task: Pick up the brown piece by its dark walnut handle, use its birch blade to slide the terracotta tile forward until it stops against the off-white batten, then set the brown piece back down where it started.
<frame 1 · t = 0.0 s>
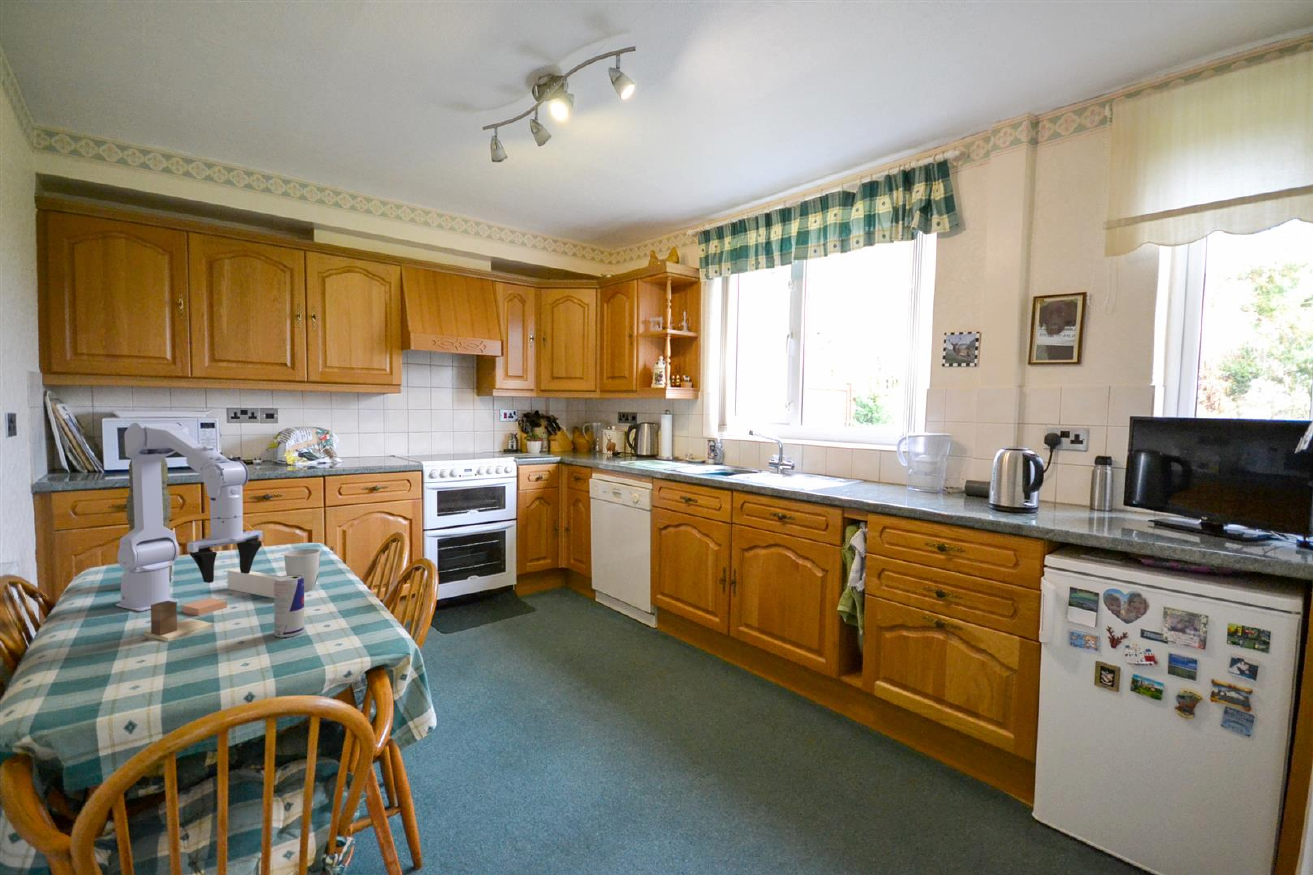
hand: (227, 577, 124), 10 cm above the table, tool pointing down, fingers open, 7 cm apart
energy drink: (289, 634, 120), on the table
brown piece: (164, 636, 117), on the table
batten: (260, 593, 144), on the table
cup: (302, 590, 148), on the table
tile: (204, 611, 132), on the table
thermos: (150, 584, 151), on the table
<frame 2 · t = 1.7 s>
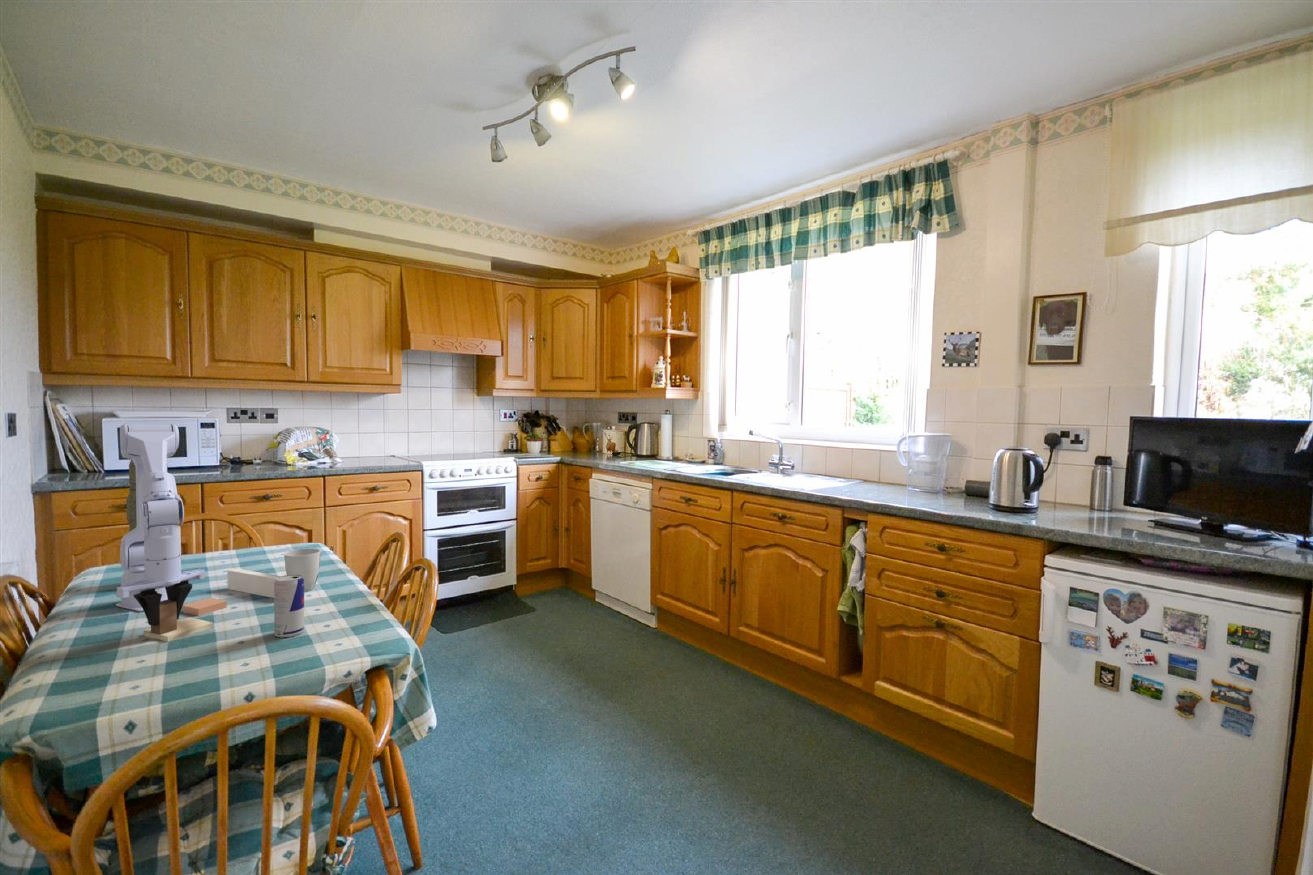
hand: (163, 621, 117), 3 cm above the table, tool pointing down, fingers closed on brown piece, 3 cm apart
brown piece: (164, 635, 117), on the table, touching gripper
everything else where it was.
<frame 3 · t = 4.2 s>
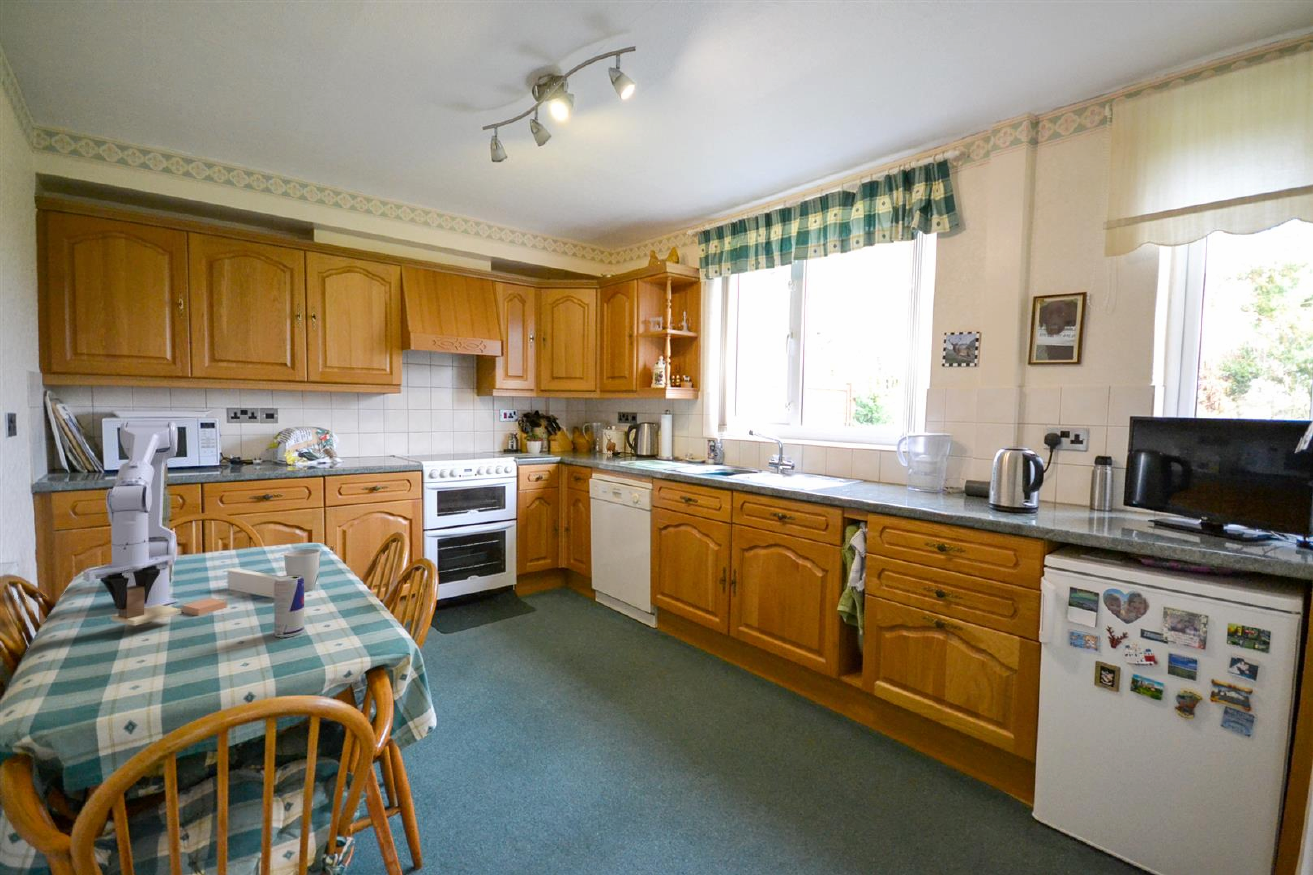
hand: (131, 605, 119), 5 cm above the table, tool pointing down, fingers closed on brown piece, 3 cm apart
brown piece: (131, 620, 119), point 2 cm above the table, touching gripper
everything else where it was.
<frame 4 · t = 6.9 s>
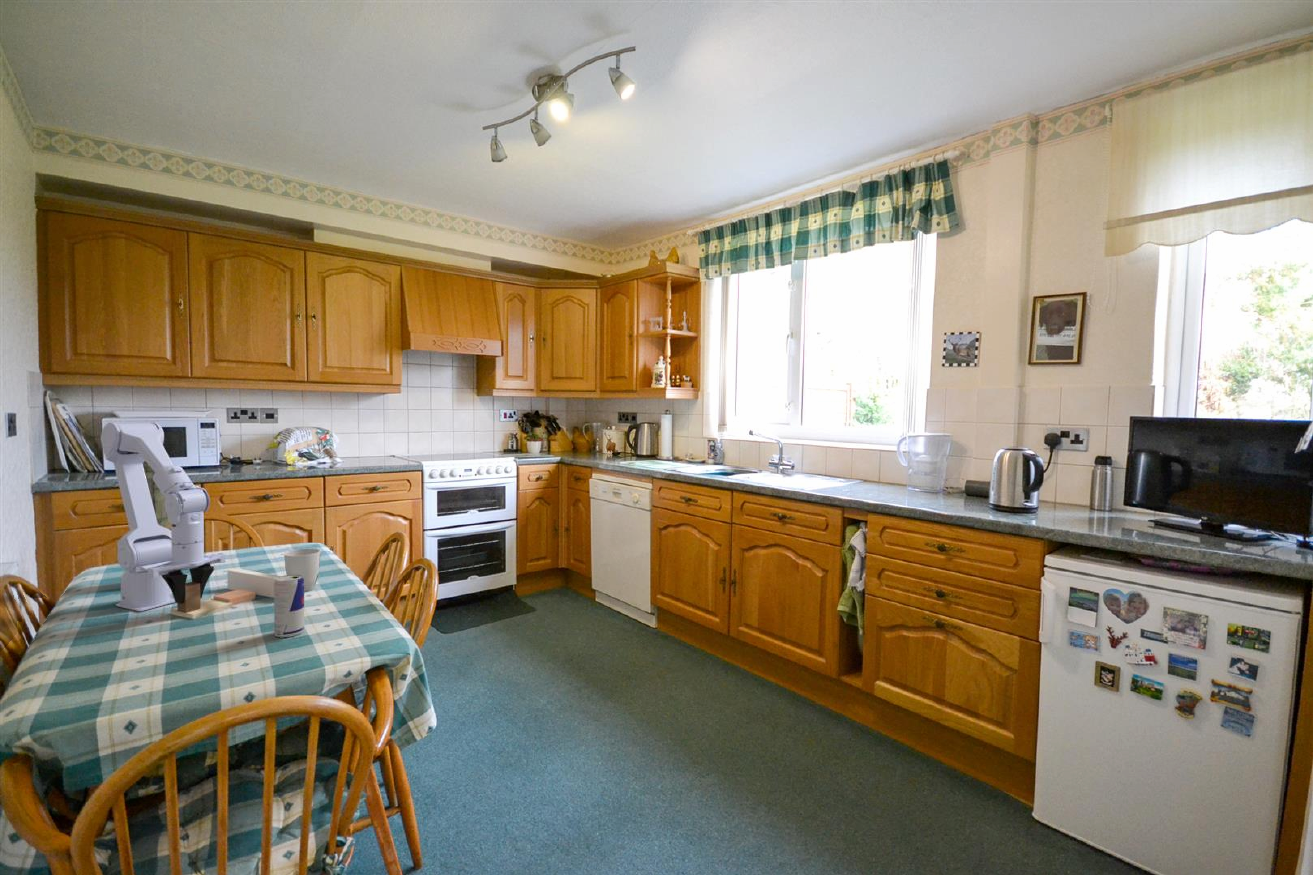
hand: (188, 600, 129), 3 cm above the table, tool pointing down, fingers closed on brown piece, 3 cm apart
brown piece: (189, 614, 129), on the table, touching gripper
tile: (234, 602, 138), on the table
everything else where it was.
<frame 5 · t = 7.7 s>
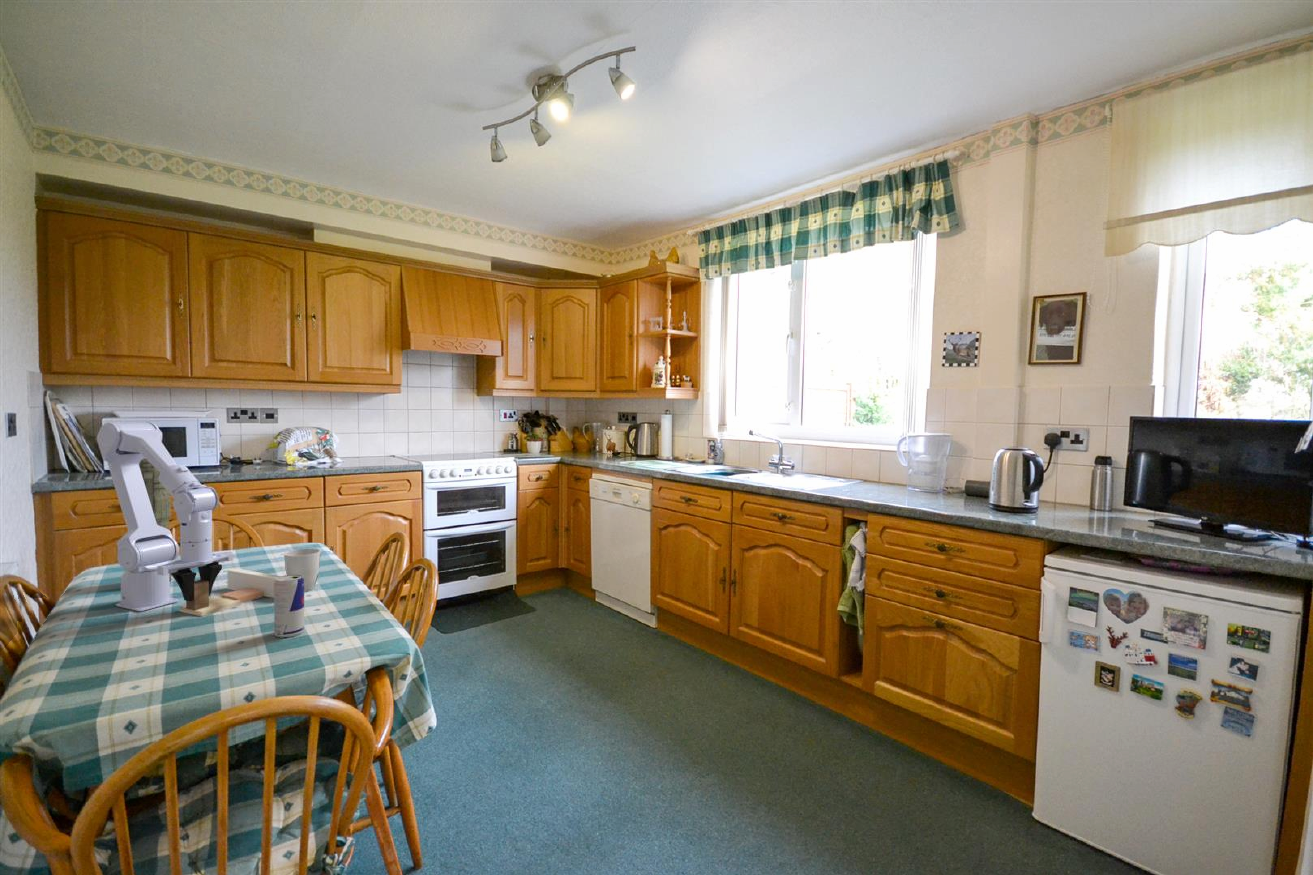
hand: (197, 598, 131), 3 cm above the table, tool pointing down, fingers closed on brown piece, 3 cm apart
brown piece: (197, 611, 131), on the table, touching gripper
tile: (242, 600, 140), on the table
everything else where it was.
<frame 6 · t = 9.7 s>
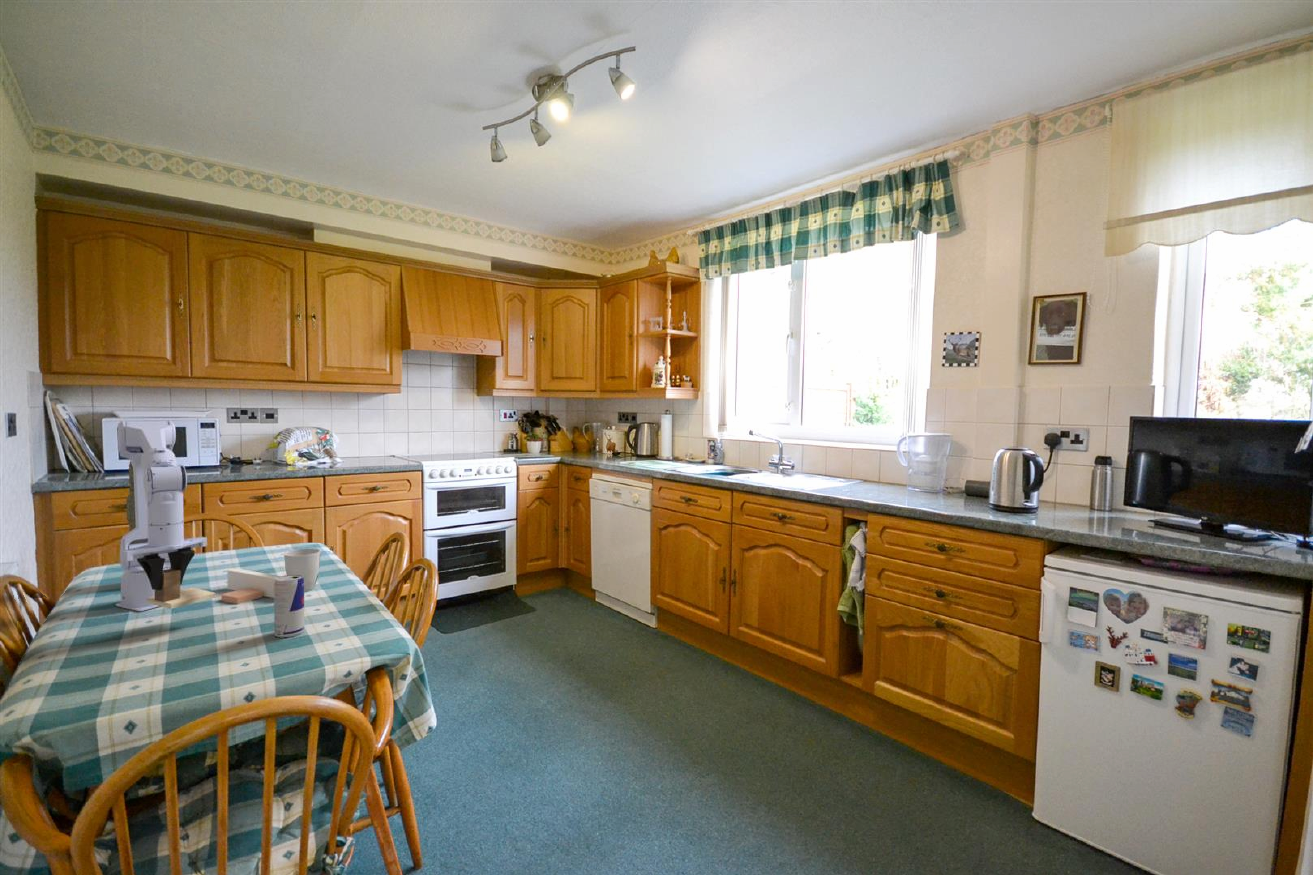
hand: (166, 586, 119), 10 cm above the table, tool pointing down, fingers closed on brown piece, 3 cm apart
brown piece: (167, 603, 119), point 6 cm above the table, touching gripper
everything else where it was.
when the fingers open (3 cm above the table, at t = 11.4 s): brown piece stays where it is, on the table.
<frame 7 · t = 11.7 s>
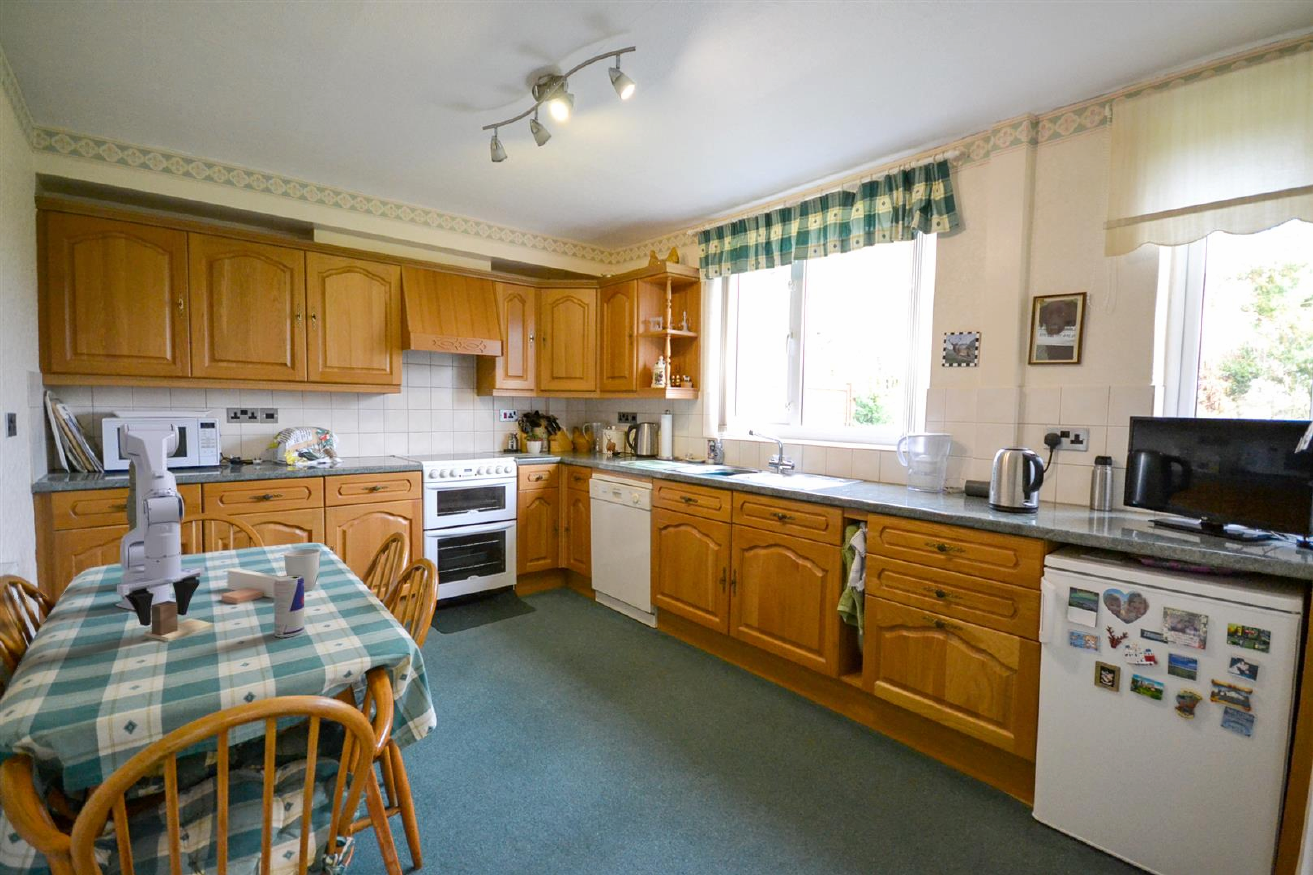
hand: (163, 619, 117), 3 cm above the table, tool pointing down, fingers open, 6 cm apart
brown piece: (164, 636, 117), on the table
everything else where it was.
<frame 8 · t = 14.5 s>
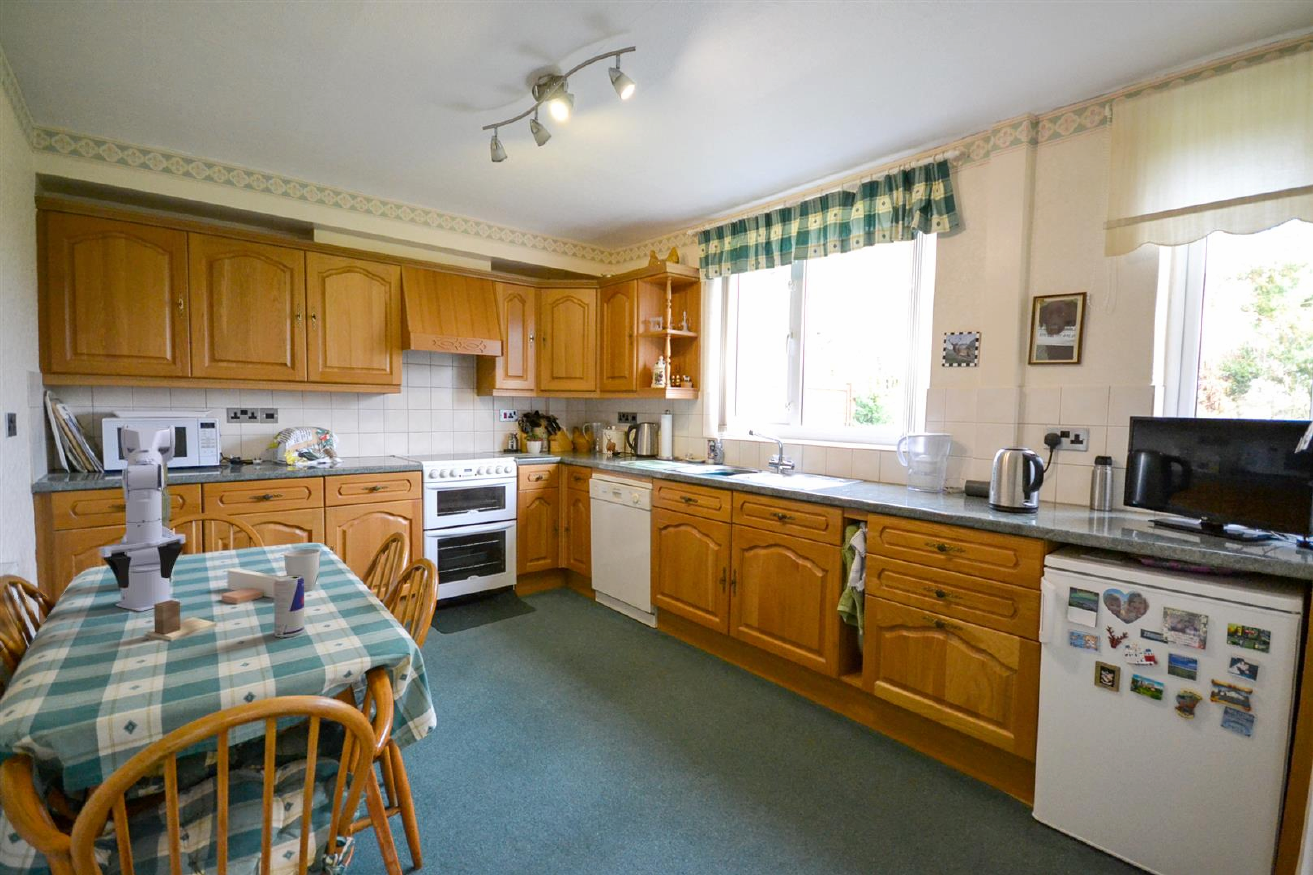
hand: (145, 582, 122), 9 cm above the table, tool pointing down, fingers open, 7 cm apart
nothing on the table moved.
at the end: tile 0.0 cm from the target spot, on the table; tile tilted 0°; the gripper is holding nothing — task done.
